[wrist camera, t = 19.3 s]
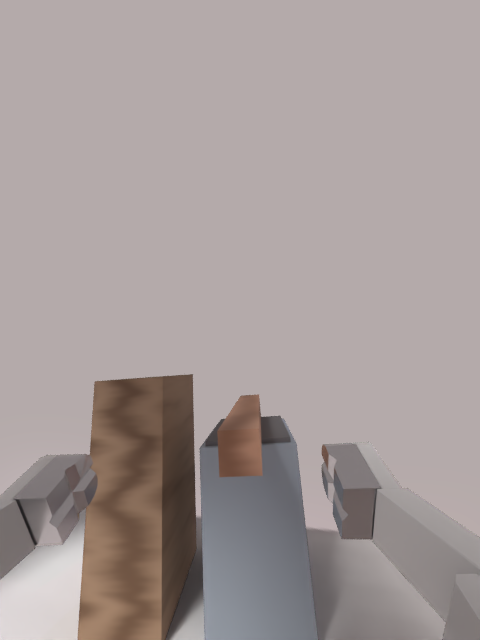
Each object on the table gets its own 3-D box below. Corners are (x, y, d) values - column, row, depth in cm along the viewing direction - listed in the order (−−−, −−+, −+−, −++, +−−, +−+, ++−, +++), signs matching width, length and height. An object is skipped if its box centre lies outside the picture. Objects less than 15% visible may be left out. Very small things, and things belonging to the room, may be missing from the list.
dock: (205, 651, 20) (199, 443, 24) (224, 548, 32) (218, 418, 36) (319, 652, 20) (295, 438, 23) (296, 546, 31) (283, 415, 35)
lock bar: (219, 477, 16) (217, 430, 17) (242, 414, 37) (240, 395, 38) (262, 475, 16) (258, 428, 16) (260, 413, 37) (259, 394, 38)
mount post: (76, 650, 21) (94, 381, 26) (141, 549, 33) (145, 377, 38) (161, 650, 21) (162, 376, 26) (196, 548, 32) (192, 374, 37)
